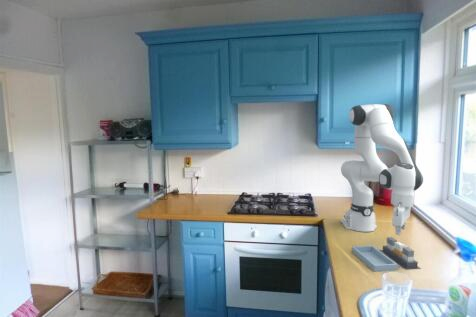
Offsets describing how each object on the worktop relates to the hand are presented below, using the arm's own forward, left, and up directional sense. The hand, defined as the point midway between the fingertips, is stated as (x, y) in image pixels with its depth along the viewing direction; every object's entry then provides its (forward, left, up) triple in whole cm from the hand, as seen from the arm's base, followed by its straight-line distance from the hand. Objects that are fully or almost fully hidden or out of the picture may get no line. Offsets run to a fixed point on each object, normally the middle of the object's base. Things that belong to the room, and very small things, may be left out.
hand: (400, 231), depth 142 cm
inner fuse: (-6, 0, -13) cm, 14 cm away
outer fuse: (+6, 0, -13) cm, 14 cm away
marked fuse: (0, 0, -13) cm, 13 cm away
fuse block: (0, 0, -14) cm, 14 cm away
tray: (0, -12, -14) cm, 18 cm away
